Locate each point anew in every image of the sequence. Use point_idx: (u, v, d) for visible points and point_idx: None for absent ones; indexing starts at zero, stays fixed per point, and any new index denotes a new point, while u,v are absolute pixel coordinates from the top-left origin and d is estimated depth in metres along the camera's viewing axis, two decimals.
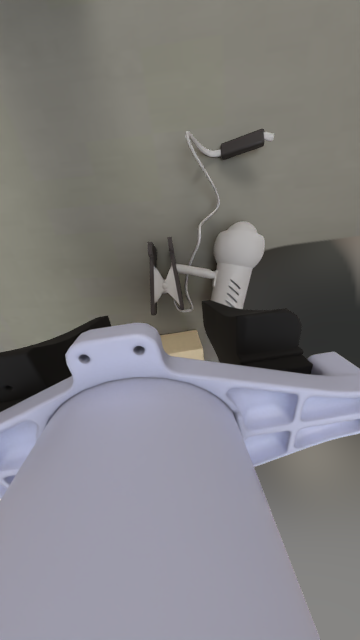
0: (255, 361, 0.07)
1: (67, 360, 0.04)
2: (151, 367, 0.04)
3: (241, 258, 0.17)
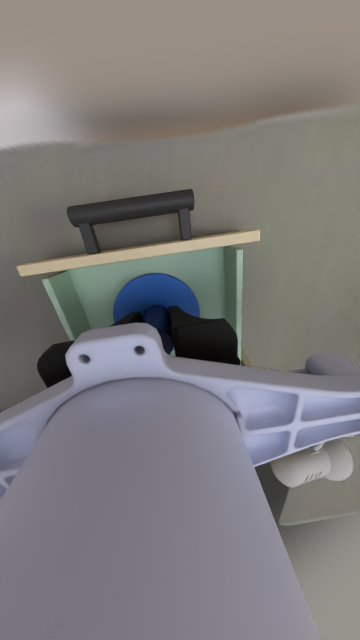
0: None
1: (67, 360, 0.04)
2: (151, 367, 0.04)
3: (337, 474, 0.20)
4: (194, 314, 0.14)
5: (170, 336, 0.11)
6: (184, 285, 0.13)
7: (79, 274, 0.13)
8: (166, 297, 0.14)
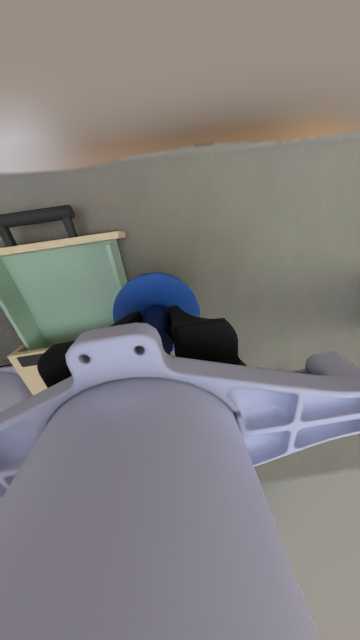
0: None
1: (67, 360, 0.04)
2: (151, 367, 0.04)
3: None
4: (194, 314, 0.14)
5: (170, 336, 0.11)
6: (184, 285, 0.13)
7: (10, 262, 0.18)
8: (166, 297, 0.14)
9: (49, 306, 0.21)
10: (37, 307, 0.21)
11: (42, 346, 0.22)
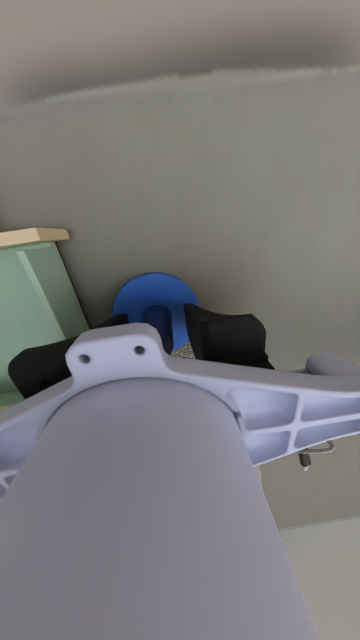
0: None
1: (67, 360, 0.04)
2: (151, 367, 0.04)
3: None
4: None
5: (170, 336, 0.10)
6: (184, 285, 0.13)
7: None
8: (166, 297, 0.13)
9: None
10: None
11: None
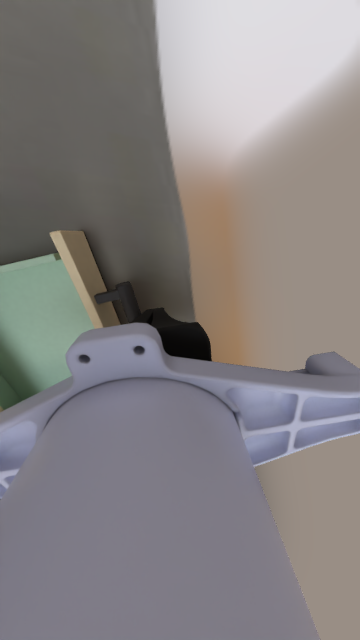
0: None
1: (67, 360, 0.04)
2: (151, 367, 0.04)
3: None
4: None
5: None
6: None
7: None
8: None
9: (18, 305, 0.14)
10: (9, 288, 0.13)
11: None
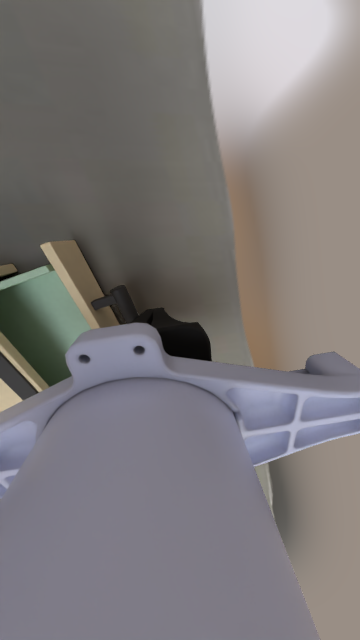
0: None
1: (67, 360, 0.04)
2: (151, 367, 0.04)
3: None
4: None
5: None
6: None
7: None
8: None
9: (22, 318, 0.14)
10: (11, 302, 0.13)
11: None
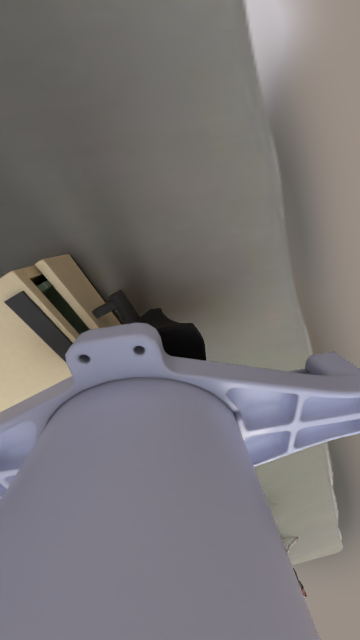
0: None
1: (67, 360, 0.04)
2: (151, 367, 0.04)
3: None
4: None
5: None
6: None
7: None
8: None
9: None
10: None
11: None
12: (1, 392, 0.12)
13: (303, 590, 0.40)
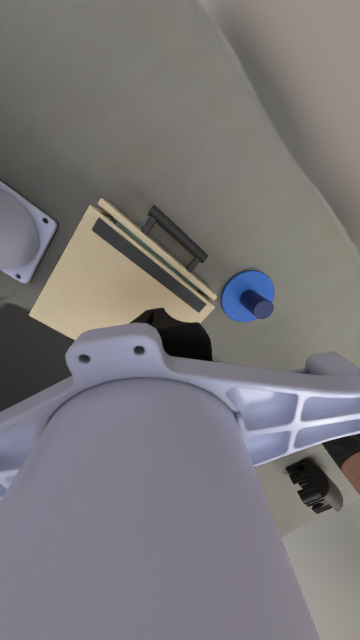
0: None
1: (67, 360, 0.04)
2: (151, 367, 0.04)
3: None
4: None
5: (271, 311, 0.20)
6: (273, 296, 0.23)
7: None
8: (262, 293, 0.23)
9: None
10: None
11: None
12: (106, 308, 0.18)
13: None
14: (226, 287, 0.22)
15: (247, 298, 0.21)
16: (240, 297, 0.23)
